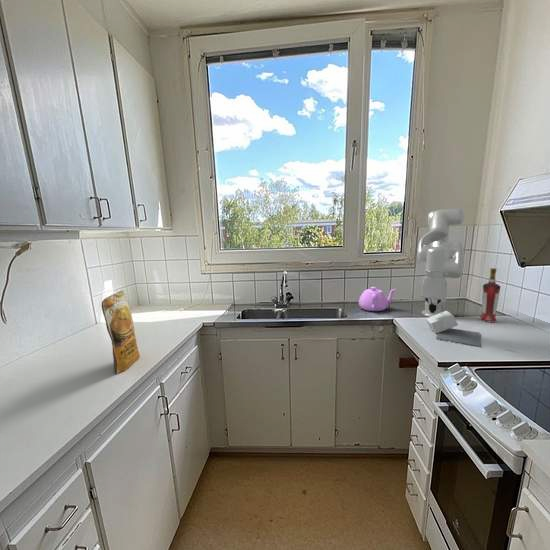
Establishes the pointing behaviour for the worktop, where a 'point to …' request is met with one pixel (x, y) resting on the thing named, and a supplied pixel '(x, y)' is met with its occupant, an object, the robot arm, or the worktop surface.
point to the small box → (441, 321)
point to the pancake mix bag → (120, 331)
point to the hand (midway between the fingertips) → (432, 312)
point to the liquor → (490, 298)
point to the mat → (460, 336)
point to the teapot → (374, 299)
